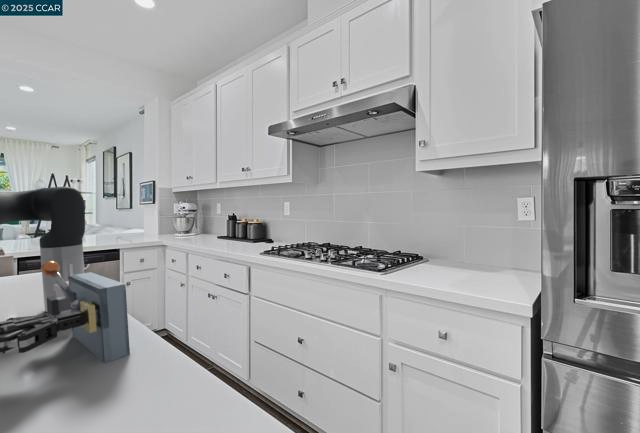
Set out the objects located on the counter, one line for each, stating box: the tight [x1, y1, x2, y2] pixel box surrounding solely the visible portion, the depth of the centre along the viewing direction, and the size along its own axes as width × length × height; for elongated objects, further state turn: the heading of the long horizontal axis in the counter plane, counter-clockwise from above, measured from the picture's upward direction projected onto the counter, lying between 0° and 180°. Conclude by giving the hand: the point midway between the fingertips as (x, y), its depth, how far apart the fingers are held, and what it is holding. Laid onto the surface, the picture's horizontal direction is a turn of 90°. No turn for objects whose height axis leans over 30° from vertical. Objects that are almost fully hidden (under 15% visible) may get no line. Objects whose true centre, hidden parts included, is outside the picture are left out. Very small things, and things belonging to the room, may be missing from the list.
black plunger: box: [47, 296, 73, 316], centre depth 66 cm, size 4×4×3 cm
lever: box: [40, 261, 82, 310], centre depth 61 cm, size 3×3×10 cm
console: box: [68, 271, 131, 364], centre depth 65 cm, size 20×5×13 cm, turn 50°
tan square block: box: [80, 301, 100, 333], centre depth 59 cm, size 5×4×5 cm
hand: (84, 317), depth 58 cm, fingers closed
